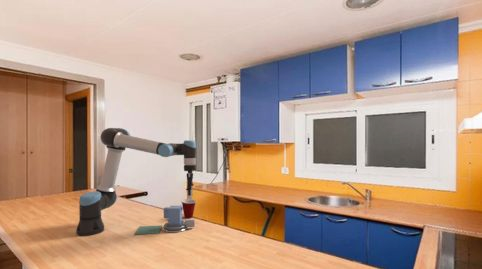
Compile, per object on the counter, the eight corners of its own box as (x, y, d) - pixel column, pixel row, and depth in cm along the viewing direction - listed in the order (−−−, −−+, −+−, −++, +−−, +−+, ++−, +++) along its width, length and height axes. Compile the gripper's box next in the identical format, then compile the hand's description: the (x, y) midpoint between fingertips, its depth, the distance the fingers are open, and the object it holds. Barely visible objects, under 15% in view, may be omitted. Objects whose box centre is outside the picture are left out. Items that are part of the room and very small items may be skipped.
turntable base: (161, 233, 165) (161, 232, 165) (164, 225, 179) (164, 224, 179) (186, 232, 166) (186, 230, 166) (188, 224, 181) (188, 223, 181)
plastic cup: (193, 219, 191) (193, 202, 192) (178, 219, 193) (178, 202, 193) (198, 215, 202) (198, 199, 202) (184, 214, 204) (184, 198, 204)
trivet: (134, 235, 162) (134, 234, 162) (139, 227, 176) (139, 226, 176) (158, 233, 164) (158, 232, 164) (162, 226, 178) (162, 225, 178)
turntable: (166, 223, 180) (166, 216, 180) (196, 223, 180) (196, 216, 180) (161, 230, 166) (161, 223, 166) (192, 230, 166) (192, 223, 166)
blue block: (165, 222, 176) (165, 205, 176) (183, 222, 177) (183, 205, 177) (162, 226, 169) (162, 208, 169) (181, 226, 170) (181, 208, 170)
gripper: (195, 166, 164) (195, 202, 164) (196, 162, 188) (196, 194, 188) (182, 166, 163) (182, 202, 163) (185, 162, 188) (185, 194, 187)
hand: (190, 198), depth 176 cm, fingers open, 12 cm apart
